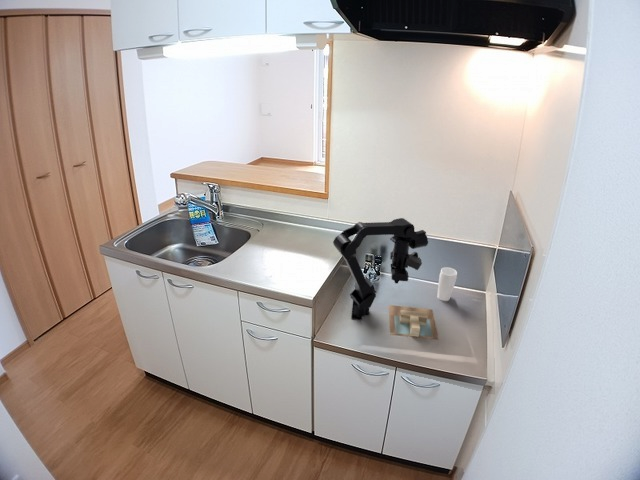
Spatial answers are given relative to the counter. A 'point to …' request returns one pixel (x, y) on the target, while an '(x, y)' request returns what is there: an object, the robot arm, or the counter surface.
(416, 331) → the t block
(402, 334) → the push board
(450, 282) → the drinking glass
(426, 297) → the counter surface
